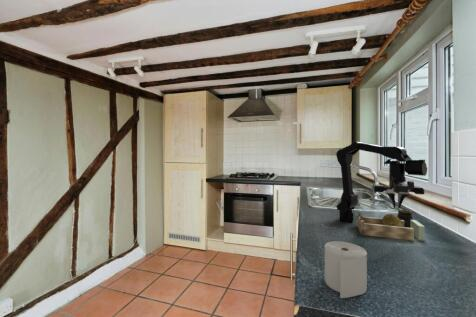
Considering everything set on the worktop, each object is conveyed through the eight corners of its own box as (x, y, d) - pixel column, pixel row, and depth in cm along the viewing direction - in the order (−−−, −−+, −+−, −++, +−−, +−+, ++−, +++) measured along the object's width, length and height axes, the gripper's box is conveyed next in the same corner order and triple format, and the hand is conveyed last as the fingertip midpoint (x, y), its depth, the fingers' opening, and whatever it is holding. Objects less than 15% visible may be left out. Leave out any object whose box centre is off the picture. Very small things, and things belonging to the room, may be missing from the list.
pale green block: (418, 240, 93) (418, 226, 93) (410, 232, 103) (410, 219, 103) (425, 240, 93) (426, 226, 93) (416, 233, 102) (416, 220, 102)
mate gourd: (418, 229, 107) (418, 208, 107) (402, 229, 108) (402, 209, 107) (406, 224, 115) (406, 205, 114) (392, 224, 115) (392, 205, 115)
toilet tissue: (352, 273, 67) (353, 240, 67) (379, 299, 55) (379, 259, 55) (318, 274, 67) (318, 241, 66) (337, 300, 55) (337, 260, 54)
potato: (379, 234, 99) (379, 217, 99) (383, 227, 109) (383, 211, 109) (402, 239, 94) (402, 220, 94) (404, 231, 104) (404, 214, 104)
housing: (361, 234, 100) (361, 217, 100) (357, 225, 112) (357, 210, 112) (413, 240, 93) (413, 221, 93) (403, 230, 105) (403, 214, 105)
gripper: (377, 174, 96) (376, 210, 96) (430, 176, 89) (429, 214, 90) (372, 173, 107) (371, 205, 107) (419, 174, 100) (419, 208, 100)
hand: (396, 208), depth 100 cm, fingers closed
